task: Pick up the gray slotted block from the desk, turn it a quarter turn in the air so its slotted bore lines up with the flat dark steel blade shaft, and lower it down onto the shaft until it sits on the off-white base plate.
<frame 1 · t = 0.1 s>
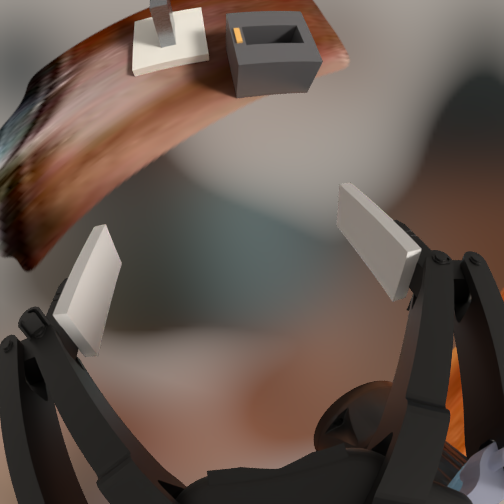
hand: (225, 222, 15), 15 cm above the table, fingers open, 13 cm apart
shaft stand: (169, 41, 30), on the table
gray slotted block: (265, 67, 31), on the table
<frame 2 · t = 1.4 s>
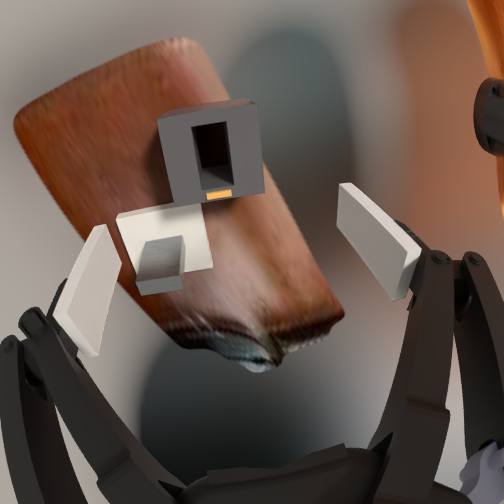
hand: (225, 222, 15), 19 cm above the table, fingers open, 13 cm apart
shaft stand: (166, 238, 37), on the table
gray slotted block: (211, 140, 30), on the table
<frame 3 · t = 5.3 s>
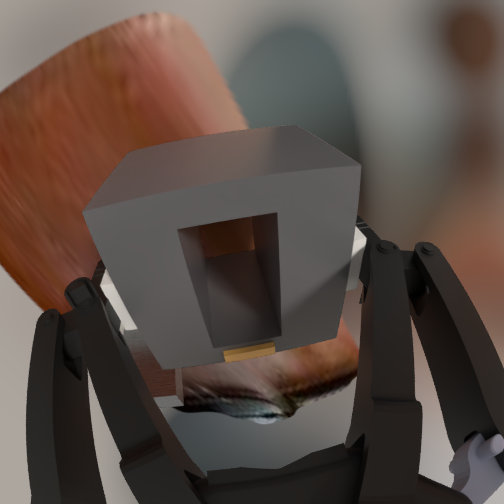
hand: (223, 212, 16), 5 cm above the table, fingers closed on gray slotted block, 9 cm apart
shaft stand: (153, 315, 26), on the table
gray slotted block: (223, 209, 16), point 4 cm above the table, touching gripper
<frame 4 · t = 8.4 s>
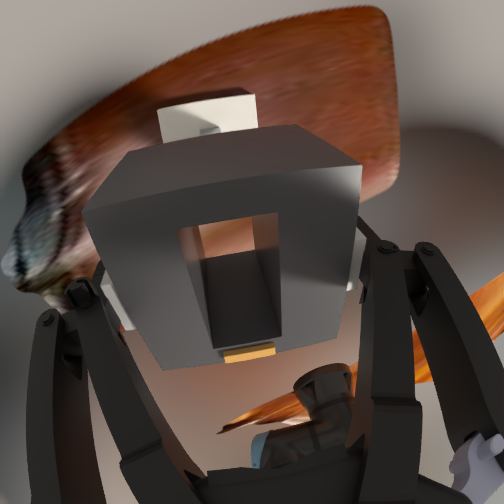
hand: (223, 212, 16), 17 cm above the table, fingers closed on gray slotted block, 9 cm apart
shaft stand: (212, 147, 29), on the table
gray slotted block: (223, 209, 16), point 16 cm above the table, touching gripper
when the fingers open (4 cm above the table, at t = 11.8 s): gray slotted block drops 3 cm, resting on shaft stand.
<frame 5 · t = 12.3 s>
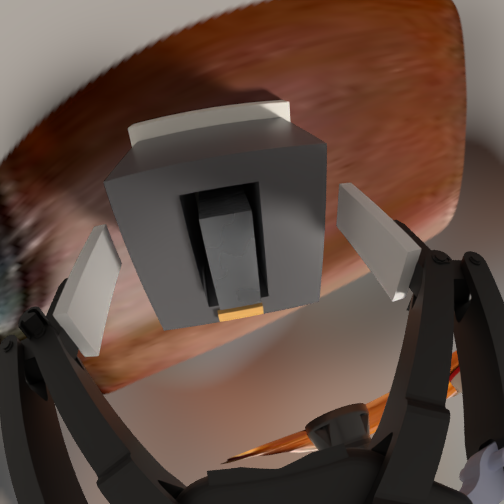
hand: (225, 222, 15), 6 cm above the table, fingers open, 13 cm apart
kitchen timer: (464, 365, 64), on the table
shaft stand: (218, 183, 20), on the table
gray slotted block: (218, 191, 18), point 1 cm above the table, touching shaft stand
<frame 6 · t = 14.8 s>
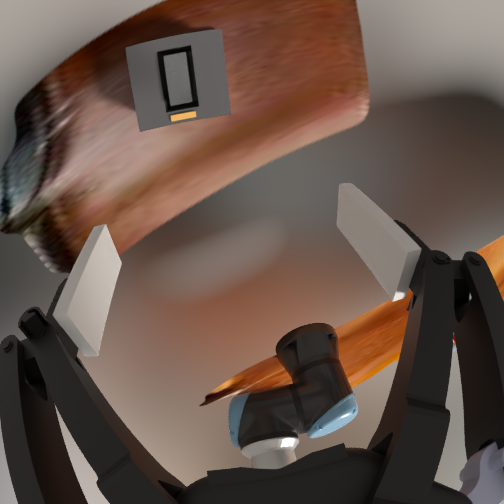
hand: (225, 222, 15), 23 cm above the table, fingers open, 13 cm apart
shaft stand: (183, 77, 28), on the table
gray slotted block: (182, 77, 27), point 1 cm above the table, touching shaft stand
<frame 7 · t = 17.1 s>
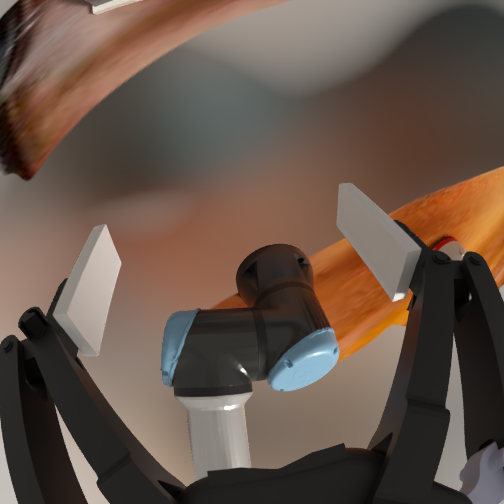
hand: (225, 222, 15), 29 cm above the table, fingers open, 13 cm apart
kitchen timer: (440, 258, 65), on the table
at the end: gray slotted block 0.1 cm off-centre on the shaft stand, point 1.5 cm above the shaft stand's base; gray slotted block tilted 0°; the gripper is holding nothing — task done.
